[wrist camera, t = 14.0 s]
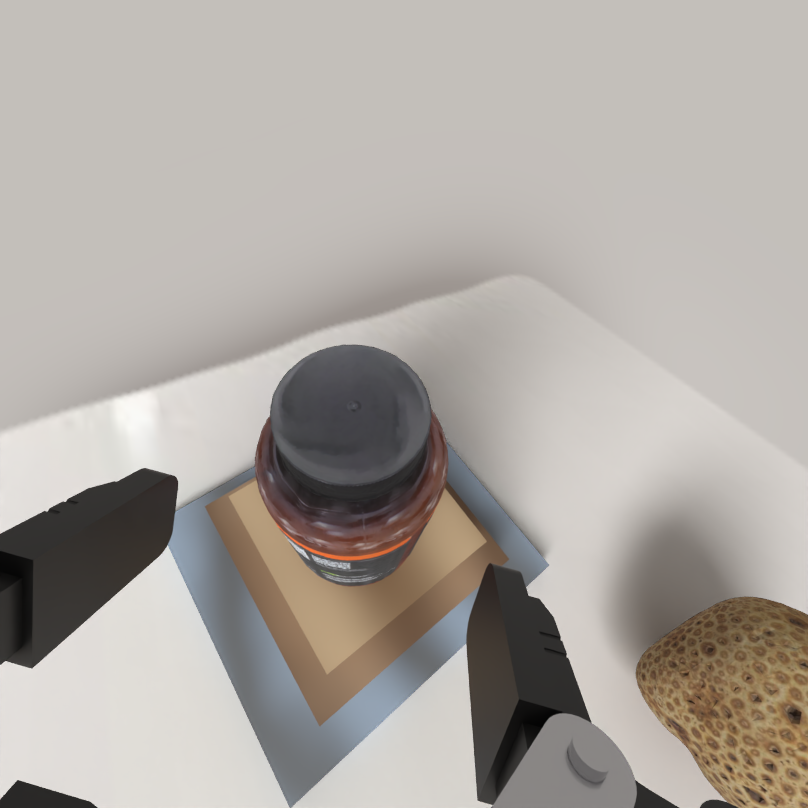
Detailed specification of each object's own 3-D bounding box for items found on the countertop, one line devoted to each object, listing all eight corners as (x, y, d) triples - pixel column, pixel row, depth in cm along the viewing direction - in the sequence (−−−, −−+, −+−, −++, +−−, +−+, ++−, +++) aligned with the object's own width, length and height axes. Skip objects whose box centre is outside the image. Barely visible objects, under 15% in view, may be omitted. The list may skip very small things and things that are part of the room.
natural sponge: (801, 755, 23) (1073, 825, 14) (679, 835, 20) (913, 977, 12) (696, 587, 27) (857, 562, 18) (584, 639, 24) (707, 639, 16)
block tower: (397, 391, 32) (407, 333, 26) (542, 567, 26) (598, 546, 20) (163, 526, 25) (104, 490, 19) (293, 800, 20) (265, 872, 14)
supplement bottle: (394, 451, 22) (426, 296, 12) (435, 563, 19) (518, 481, 9) (281, 483, 20) (212, 336, 10) (308, 609, 18) (248, 570, 8)
